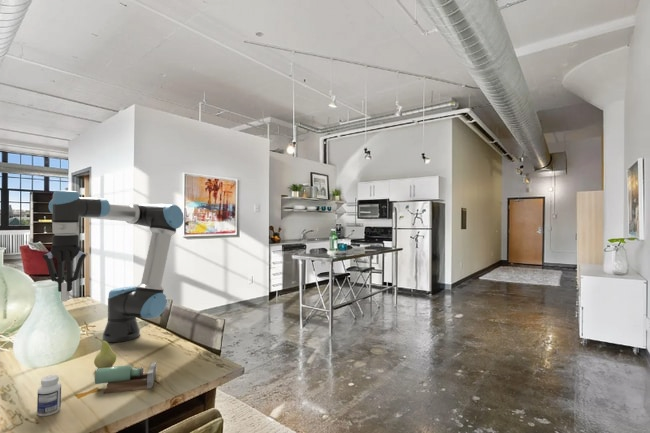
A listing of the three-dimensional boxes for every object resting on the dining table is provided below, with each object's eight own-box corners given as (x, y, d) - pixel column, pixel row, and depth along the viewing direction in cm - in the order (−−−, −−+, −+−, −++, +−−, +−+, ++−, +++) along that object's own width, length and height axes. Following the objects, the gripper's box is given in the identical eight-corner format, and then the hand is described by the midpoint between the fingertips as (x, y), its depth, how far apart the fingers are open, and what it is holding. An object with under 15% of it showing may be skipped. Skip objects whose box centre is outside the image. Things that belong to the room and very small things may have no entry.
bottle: (99, 366, 118) (144, 362, 122) (98, 381, 117) (143, 377, 121) (95, 370, 113) (141, 365, 117) (94, 386, 112) (140, 380, 117)
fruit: (111, 372, 127) (112, 339, 127) (88, 372, 126) (89, 339, 126) (119, 364, 133) (120, 333, 133) (97, 365, 132) (98, 333, 132)
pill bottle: (45, 406, 103) (46, 373, 103) (64, 406, 104) (66, 373, 104) (32, 417, 98) (33, 382, 98) (52, 416, 98) (53, 382, 98)
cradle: (111, 380, 120) (111, 366, 120) (155, 376, 125) (156, 362, 125) (103, 393, 112) (104, 377, 112) (151, 388, 116) (152, 373, 116)
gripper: (38, 235, 117) (38, 304, 117) (84, 235, 122) (83, 301, 122) (47, 233, 124) (47, 299, 124) (90, 233, 129) (89, 296, 129)
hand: (65, 300), depth 123 cm, fingers closed
